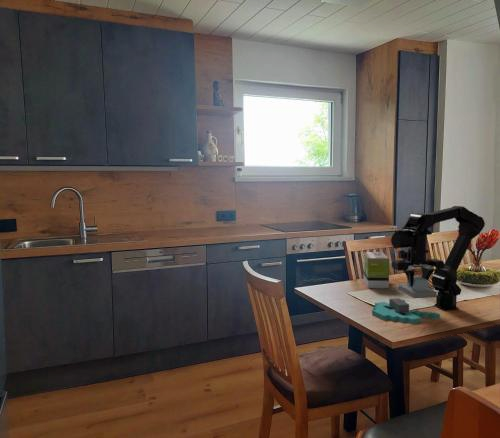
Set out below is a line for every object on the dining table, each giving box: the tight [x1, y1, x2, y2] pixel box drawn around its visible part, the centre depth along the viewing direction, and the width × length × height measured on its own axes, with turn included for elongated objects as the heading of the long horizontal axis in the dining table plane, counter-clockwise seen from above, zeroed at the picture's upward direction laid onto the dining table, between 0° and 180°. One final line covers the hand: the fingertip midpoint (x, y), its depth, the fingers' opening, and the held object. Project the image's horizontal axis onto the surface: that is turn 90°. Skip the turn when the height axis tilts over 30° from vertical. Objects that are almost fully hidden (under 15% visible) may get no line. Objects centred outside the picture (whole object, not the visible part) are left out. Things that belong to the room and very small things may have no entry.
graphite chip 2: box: [394, 301, 410, 313], centre depth 149 cm, size 4×4×3 cm
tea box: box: [363, 251, 390, 289], centre depth 192 cm, size 15×10×15 cm, turn 172°
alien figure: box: [371, 298, 441, 324], centre depth 151 cm, size 20×2×20 cm
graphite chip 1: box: [388, 297, 404, 309], centre depth 153 cm, size 4×4×3 cm
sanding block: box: [397, 275, 438, 299], centre depth 152 cm, size 9×12×6 cm
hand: (417, 286), depth 152 cm, fingers closed on sanding block, 4 cm apart
